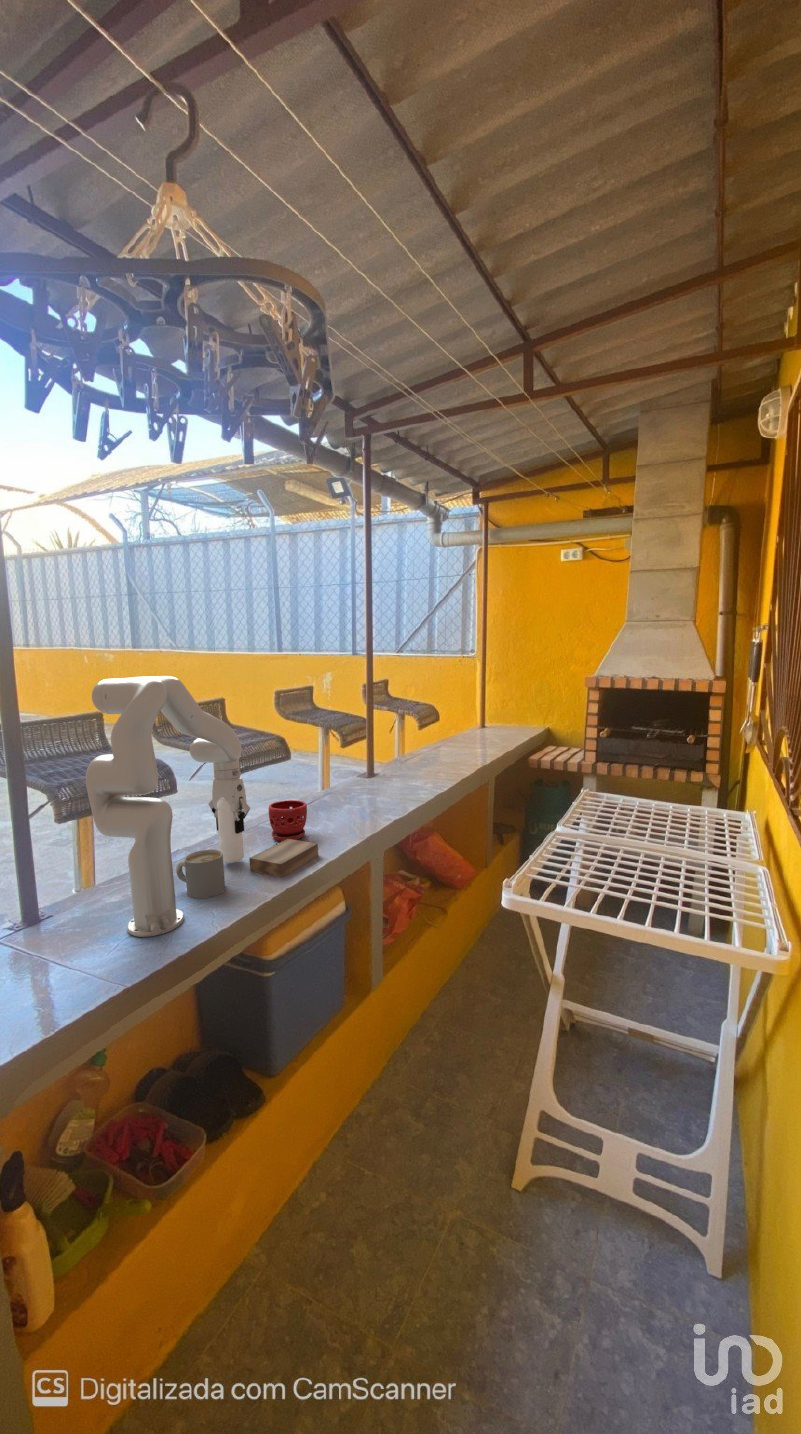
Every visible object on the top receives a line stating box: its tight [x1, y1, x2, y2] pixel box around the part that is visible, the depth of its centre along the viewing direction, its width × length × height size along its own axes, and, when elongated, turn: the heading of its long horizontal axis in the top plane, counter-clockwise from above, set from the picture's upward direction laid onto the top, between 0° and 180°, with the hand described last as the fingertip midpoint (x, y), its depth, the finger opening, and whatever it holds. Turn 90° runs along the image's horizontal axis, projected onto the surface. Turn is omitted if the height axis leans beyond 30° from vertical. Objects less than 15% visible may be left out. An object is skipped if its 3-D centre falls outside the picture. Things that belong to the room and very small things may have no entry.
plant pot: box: [268, 799, 308, 842], centre depth 196 cm, size 13×13×12 cm
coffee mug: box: [176, 849, 226, 900], centre depth 155 cm, size 13×10×10 cm
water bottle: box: [217, 797, 245, 864], centre depth 172 cm, size 7×7×25 cm
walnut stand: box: [248, 839, 319, 878], centre depth 173 cm, size 12×18×4 cm, turn 153°
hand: (230, 830), depth 172 cm, fingers closed on water bottle, 7 cm apart
